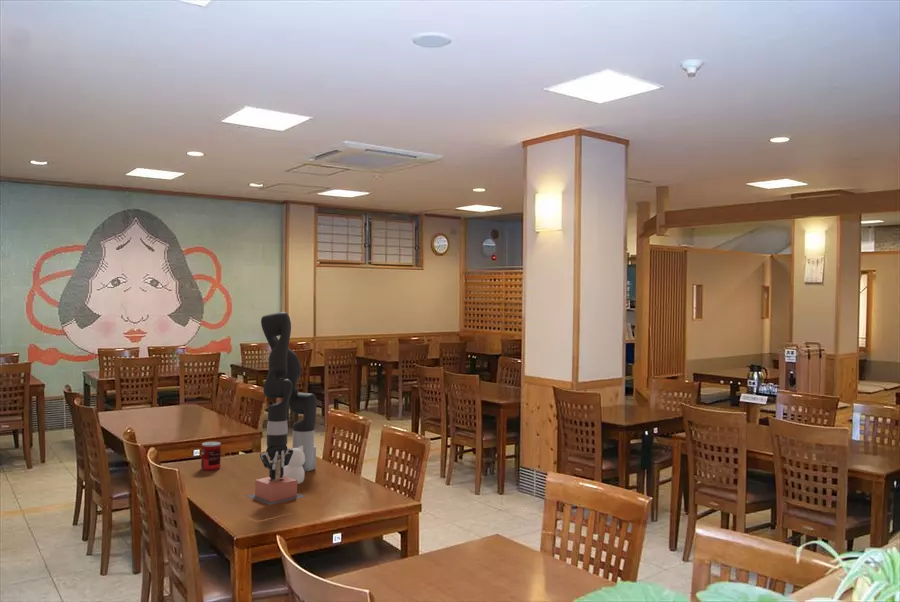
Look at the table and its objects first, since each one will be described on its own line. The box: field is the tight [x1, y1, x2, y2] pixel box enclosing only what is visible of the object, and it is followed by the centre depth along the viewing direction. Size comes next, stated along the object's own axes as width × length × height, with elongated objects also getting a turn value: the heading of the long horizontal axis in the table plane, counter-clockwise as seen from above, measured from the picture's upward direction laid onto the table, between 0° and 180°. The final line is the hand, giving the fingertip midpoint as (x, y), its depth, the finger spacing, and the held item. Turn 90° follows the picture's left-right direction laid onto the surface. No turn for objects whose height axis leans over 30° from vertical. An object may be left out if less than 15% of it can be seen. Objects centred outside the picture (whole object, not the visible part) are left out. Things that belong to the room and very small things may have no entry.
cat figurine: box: [283, 446, 305, 485], centre depth 281 cm, size 9×12×15 cm
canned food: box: [200, 441, 222, 472], centre depth 302 cm, size 8×8×11 cm
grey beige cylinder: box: [273, 455, 281, 482], centre depth 261 cm, size 3×3×14 cm
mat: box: [246, 492, 307, 506], centre depth 261 cm, size 16×16×1 cm
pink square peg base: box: [254, 476, 298, 502], centre depth 261 cm, size 11×11×6 cm
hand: (276, 478), depth 261 cm, fingers closed on grey beige cylinder, 2 cm apart
